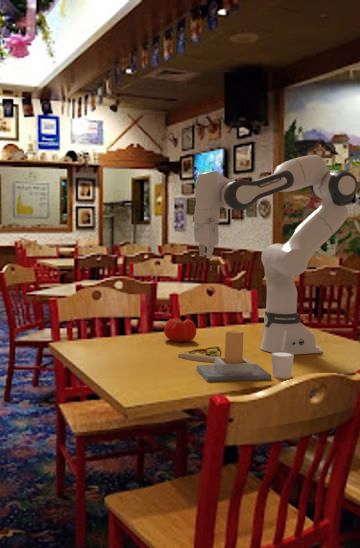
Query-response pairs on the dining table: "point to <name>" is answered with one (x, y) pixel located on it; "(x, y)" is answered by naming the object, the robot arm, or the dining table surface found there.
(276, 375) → the white tapered cup
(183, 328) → the tomato
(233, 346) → the orange rectangular block
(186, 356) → the pizza slice
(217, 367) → the square socket plate
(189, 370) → the dining table surface
